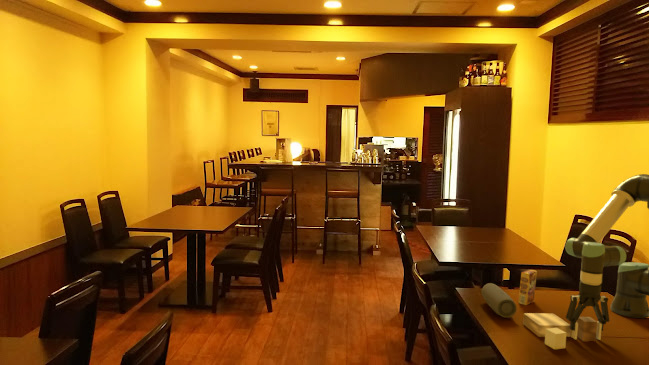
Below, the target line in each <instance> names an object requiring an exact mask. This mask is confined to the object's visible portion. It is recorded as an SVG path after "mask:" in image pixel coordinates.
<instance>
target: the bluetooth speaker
mask: <svg viewBox="0 0 649 365" xmlns="http://www.w3.org/2000/svg"><path fill="white" fill-rule="evenodd" d="M480 292H481V295H482V297H483V299H484V300H485V302H486V303H487V305H488V306H489V307H490V308H491V310H492V311H493V312H494V313H495V314H496V315H497V316H500V317H503V318H508V319H509V318H512V317H513V316H515V315H516V312H517V309H518V308H517V305H516V302H515V301H514V300H513V298H511V296H510V295H509V294H508V293H507V292H505V290H503V289H502V288H501V287H500V286H498V285H496V284H495V283H492V282H489V283H486V284H484V285H483V287H482V288H481V290H480Z"/></svg>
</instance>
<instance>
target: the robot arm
mask: <svg viewBox="0 0 649 365" xmlns="http://www.w3.org/2000/svg"><path fill="white" fill-rule="evenodd" d="M638 202H645V203H646V205H647V206H646V208H647V209H648V210H649V174H645V173H643V174H642V173H640V174H636V175H633V176H631V177H629V178H627V179H625V180H623V181H622V182H621V183H620V184H618V185H617V186H616V187H615V188H614V189H613V191H612V192H611V194H610V198H609V199H608V201H607V202H606V203H605V204H604V205H603V207H602V208H601V209H600V210H599V212H597V214H596V215H595V216H594V217H593V219H592V220H591V221H590V222H589V224H588V225H587V226H586V227H585V229H584V230H583V231H582V232H581V233H580V234H579V236H578V237H577V238H576V237H571V238H569V239H567V241H566V242H565V247H564V248H565V251H566V253H567V254H568V255H570V256H572V257H575V258H578V259H581V262H580V263H581V266H580V267H581V268H580V278H579V280H580V281H579V283H578V284H579V286H578V291H579V293H578V294H577V295H573V294H571V295H570V302H569V305H568V309H567V312H566V315H565V319H566V320H567V321H569V324H570V329H571V334H570V337H571V339H572V338H573V340H577V339H578V337H577V331H578V323H577V320H578V318H579V317H581V315H582V313H583V312H584V310H585V309H586V308H587V307H592V308H593V311H594V314H595V315H596V319H597V320H596V321H597V332H596V340H599V341H601V338H602V332H603V331H604V325H606V324H607V323H609V322H610V315H609V314H610V313H609V307H608V306H609V305H608V301H609V298H608V297H606V296H605V295H601V293H602V284H603V273H604V267H614V266H618V270H617V280H616V292H615V296H614V298H613V299H612V302H611V303H610V311H612V312H613V313H615V314H617V315H620V316H624V317H627V318H628V317H629V318H633V319H634V318H635V319H646V318H647V319H648V318H649V304H648V300H647V296H648V297H649V264H648V263H643V262H635V261H634V262H629V261H628V262H626V261H627V253H626V251H625V249H624V248H623V247H621V246H618V245H611V246H610V245H605V244H603V243H601V241H602V240H603V239H604V237H605V236H606V235H607V234H608V233H609V232H610V230H611V229H612V227H614V226H615V225H616V223H617V221H618V220H620V218H621V216H623V214H624V213H625V211H627V209H628V208H630V207H632V206H634V205H635V204H636V203H638ZM599 301H600V305H599Z"/></svg>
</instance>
